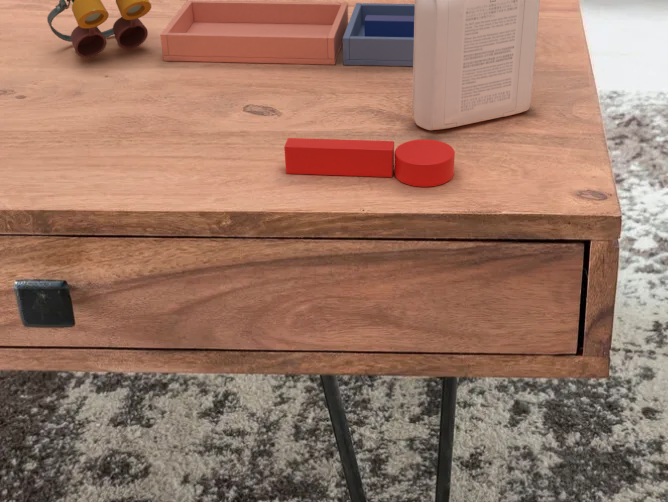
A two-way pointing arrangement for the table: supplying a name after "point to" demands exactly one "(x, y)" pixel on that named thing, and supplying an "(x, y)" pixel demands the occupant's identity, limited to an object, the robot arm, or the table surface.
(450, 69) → the white plastic bottle
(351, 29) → the blue tray
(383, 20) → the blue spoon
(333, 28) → the coral tray
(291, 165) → the red spoon
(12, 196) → the table surface
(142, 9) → the binoculars
